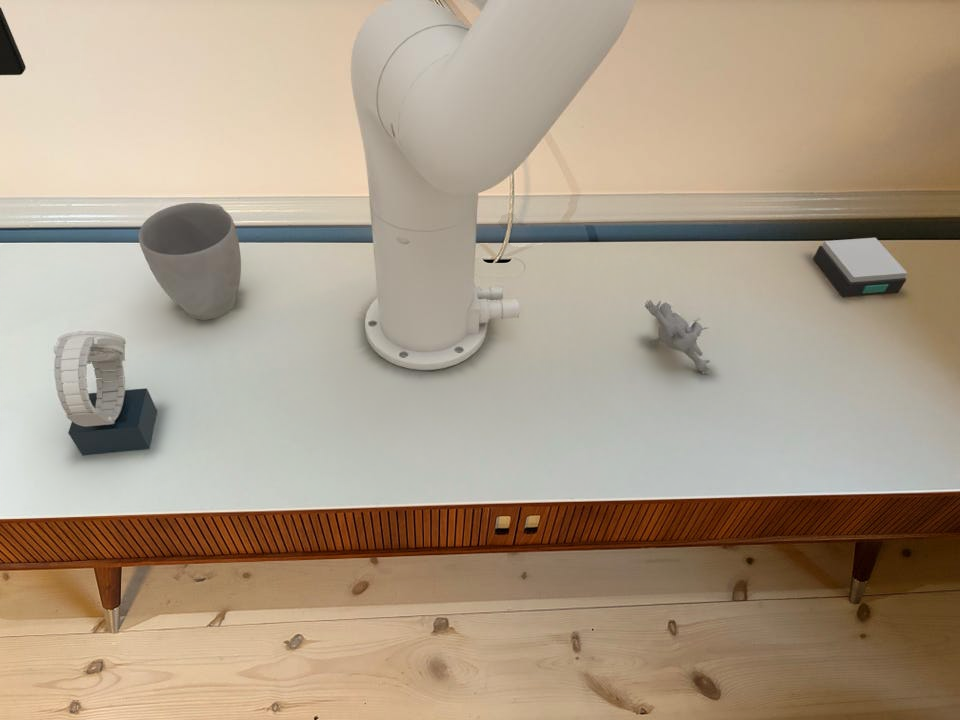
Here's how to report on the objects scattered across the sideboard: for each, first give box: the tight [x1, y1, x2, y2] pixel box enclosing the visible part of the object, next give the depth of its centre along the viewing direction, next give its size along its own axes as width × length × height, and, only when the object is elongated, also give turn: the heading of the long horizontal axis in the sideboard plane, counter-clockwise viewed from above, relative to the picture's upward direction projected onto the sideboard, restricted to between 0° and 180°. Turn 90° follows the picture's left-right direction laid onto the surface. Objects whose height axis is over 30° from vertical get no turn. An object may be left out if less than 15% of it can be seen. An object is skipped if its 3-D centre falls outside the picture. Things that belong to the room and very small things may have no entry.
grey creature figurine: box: [644, 299, 712, 375], centre depth 70 cm, size 10×6×9 cm
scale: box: [812, 237, 908, 298], centre depth 81 cm, size 7×7×3 cm
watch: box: [53, 330, 158, 456], centre depth 58 cm, size 6×8×11 cm
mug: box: [138, 202, 242, 321], centre depth 72 cm, size 12×9×10 cm
